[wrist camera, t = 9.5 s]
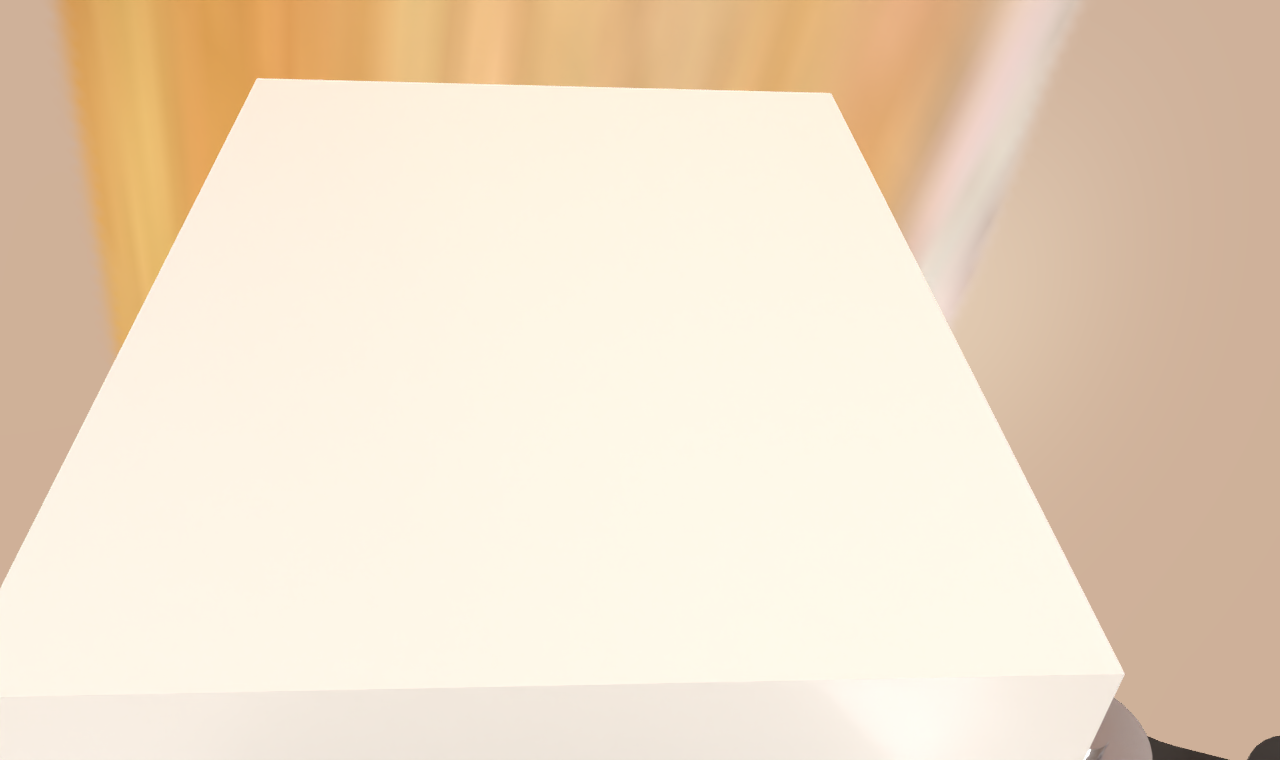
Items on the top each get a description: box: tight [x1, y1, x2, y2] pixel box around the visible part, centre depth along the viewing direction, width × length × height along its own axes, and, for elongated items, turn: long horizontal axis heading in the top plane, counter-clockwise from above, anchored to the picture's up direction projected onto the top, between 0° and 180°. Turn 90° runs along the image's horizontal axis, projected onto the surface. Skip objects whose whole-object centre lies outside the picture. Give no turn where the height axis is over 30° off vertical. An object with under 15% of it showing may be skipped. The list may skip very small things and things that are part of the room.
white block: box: [0, 78, 1124, 760], centre depth 12 cm, size 7×7×9 cm
